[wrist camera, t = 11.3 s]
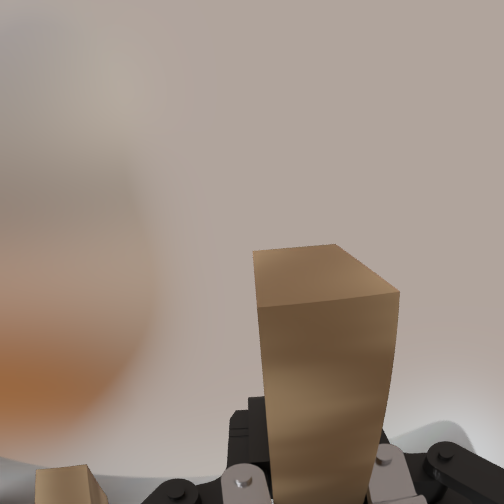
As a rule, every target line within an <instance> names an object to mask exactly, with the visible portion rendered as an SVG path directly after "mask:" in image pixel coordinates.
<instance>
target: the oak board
mask: <svg viewBox="0 0 504 504" xmlns="http://www.w3.org/2000/svg"><path fill="white" fill-rule="evenodd" d="M253 260H254V274H255V286H256V299H257V312H258V322H259V323H258V324H259V335H260V347H261V359H262V369H263V370H262V371H263V382H264V394H265V406H266V418H267V430H268V442H269V454H270V466H271V477H272V489H273V501H274V504H363V502H364V499H365V496H366V492H367V489H368V485H369V482H370V478H371V474H372V470H373V467H374V463H375V459H376V454H377V450H378V446H379V441H380V437H381V432H382V427H383V422H384V417H385V412H386V406H387V400H388V395H389V388H390V382H391V375H392V368H393V360H394V353H395V344H396V334H397V323H398V312H399V297H400V291H399V290H397V289H396V288H395V287H393V286H392V285H391V284H389V283H388V282H387V281H385V280H384V279H382V278H381V277H380V276H379V275H377V274H376V273H375V272H373V271H372V270H370V269H369V268H368V267H366V266H365V265H363V264H362V263H361V262H360V261H358V260H357V259H355V258H354V257H352V256H351V255H350V254H348V253H347V252H346V251H344V250H343V249H342V248H340V247H339V246H337V245H336V244H330V245H319V246H307V247H296V248H283V249H273V250H272V249H271V250H260V251H253Z"/></svg>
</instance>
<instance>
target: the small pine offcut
mask: <svg viewBox="0 0 504 504" xmlns="http://www.w3.org/2000/svg"><path fill="white" fill-rule="evenodd" d="M35 504H108V499H107V496H106V495H105V493H104V492H103V490H102V489H101V487H100V486H99V484H98V482H97V481H96V479H95V478H94V476H93V474H92V473H91V471H90V469H89V468H88V466H87V464H86V465H78V466H71V467H61V468H51V469H39V470H36V481H35Z"/></svg>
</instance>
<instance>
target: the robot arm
mask: <svg viewBox="0 0 504 504" xmlns="http://www.w3.org/2000/svg"><path fill="white" fill-rule="evenodd" d="M271 499H273V489H272V477H271V466H270V454H269V442H268V430H267V418H266V406H265V396H262V397H249V398H248V410H237V411H235V413H234V414H233V415H232V417H231V418H230V425H229V441H228V457H227V468H226V470H225V471H224V473H223V474H222V476H220V477H219V478H218V479H216V480H214V481H212V482H208V483H204V484H200V485H196V486H195V485H194V484H193V483H192V482H190V481H188V480H185V479H171V480H167V481H165V482H163V483H162V484H161V485H159V486H158V487H157V488H156V489H155V490H154V491H153V492H152V493H151V494H150V495H149V496H148V497H147V498H146V499H145V500H144V501H143V502H142V503H141V504H272V502H271ZM363 504H504V469H503V468H501V467H499V466H497V465H495V464H493V463H491V462H489V461H487V460H486V459H484V458H482V457H480V456H478V455H476V454H474V453H472V452H470V451H468V450H467V449H465V448H463V447H461V446H459V445H457V444H455V443H453V442H447V441H444V442H438V443H436V444H434V445H433V446H431V447H430V448H429V450H428V452H427V453H414V454H409V453H403V452H402V451H401V449H399V448H398V447H397V446H394V445H391V444H390V442H389V440H388V438H387V436H386V435H385V433H384V431H383V429H382V432H381V437H380V441H379V446H378V450H377V454H376V459H375V463H374V467H373V470H372V474H371V478H370V482H369V485H368V489H367V492H366V496H365V499H364V502H363Z"/></svg>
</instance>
